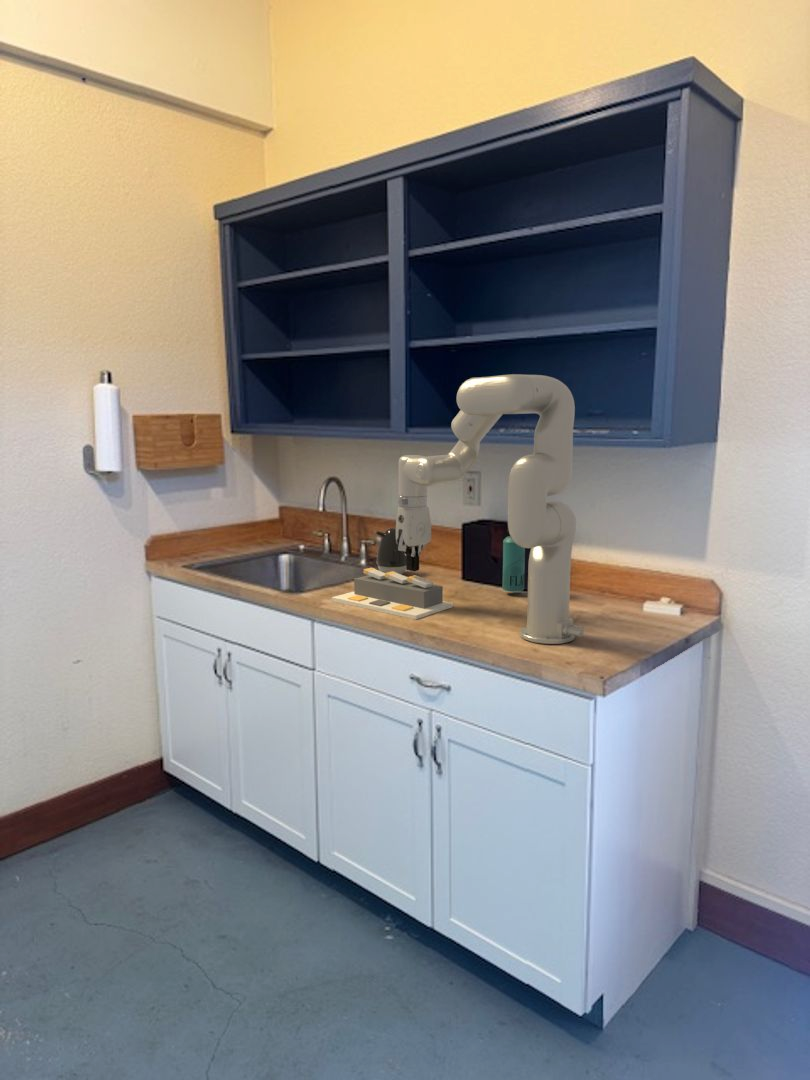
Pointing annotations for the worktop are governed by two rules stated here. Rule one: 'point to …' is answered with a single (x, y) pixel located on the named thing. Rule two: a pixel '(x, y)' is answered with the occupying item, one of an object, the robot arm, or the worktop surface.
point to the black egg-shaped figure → (390, 553)
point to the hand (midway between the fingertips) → (412, 570)
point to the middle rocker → (396, 577)
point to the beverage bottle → (513, 565)
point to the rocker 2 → (420, 581)
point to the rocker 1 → (374, 573)
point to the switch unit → (395, 597)
